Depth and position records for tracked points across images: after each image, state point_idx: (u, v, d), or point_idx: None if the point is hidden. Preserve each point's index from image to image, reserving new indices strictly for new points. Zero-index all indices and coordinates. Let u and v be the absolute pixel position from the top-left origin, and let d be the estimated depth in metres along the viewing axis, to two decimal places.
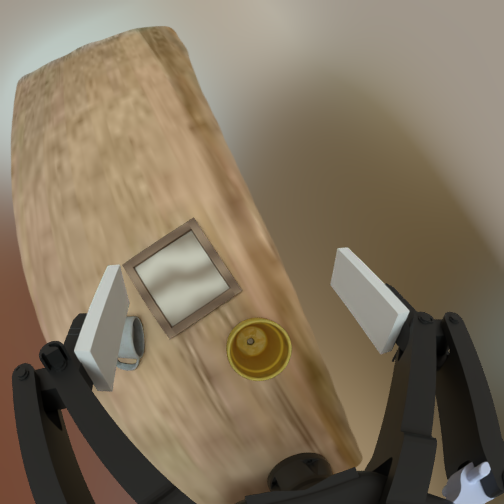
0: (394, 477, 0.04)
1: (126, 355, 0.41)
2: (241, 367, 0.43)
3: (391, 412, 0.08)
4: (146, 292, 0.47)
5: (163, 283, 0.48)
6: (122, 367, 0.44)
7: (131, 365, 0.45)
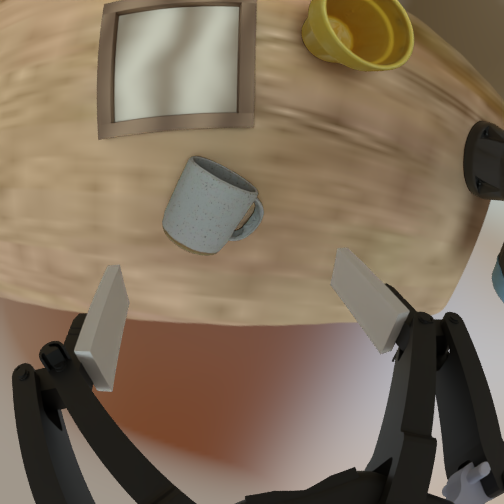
0: (394, 477, 0.04)
1: (243, 211, 0.26)
2: None
3: (391, 412, 0.08)
4: (160, 119, 0.23)
5: (164, 87, 0.23)
6: (250, 230, 0.32)
7: (254, 214, 0.32)
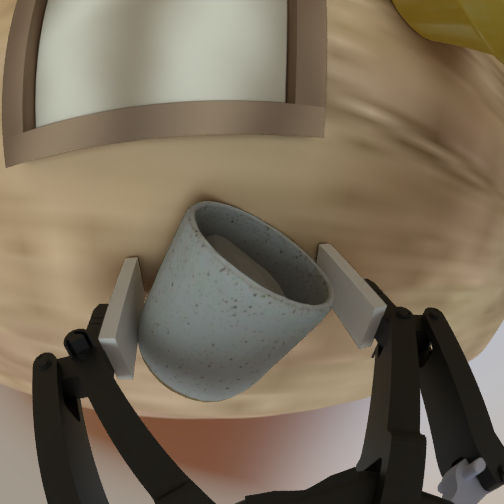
0: (386, 478, 0.04)
1: None
2: None
3: (375, 410, 0.08)
4: (117, 114, 0.10)
5: (130, 47, 0.09)
6: None
7: None
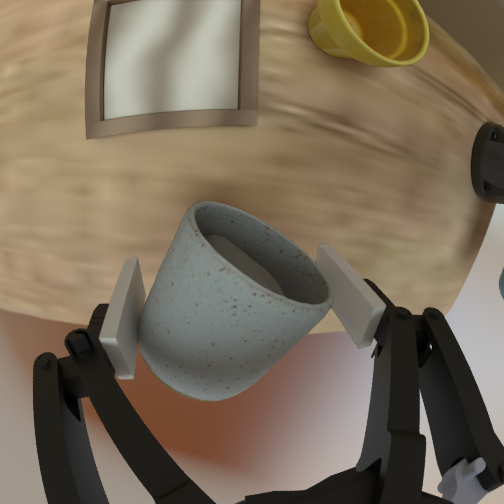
0: (386, 478, 0.04)
1: None
2: None
3: (375, 410, 0.08)
4: (154, 116, 0.21)
5: (158, 81, 0.20)
6: None
7: None
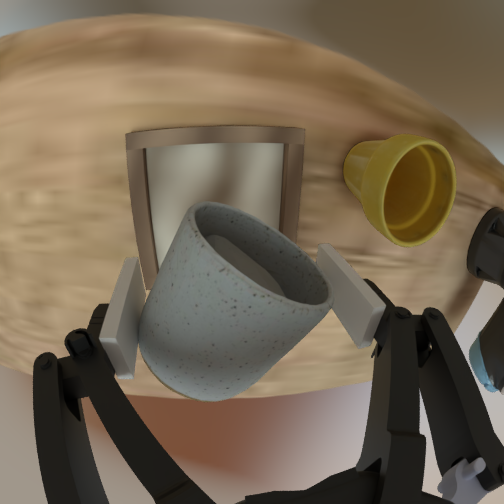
0: (385, 478, 0.04)
1: None
2: (406, 226, 0.25)
3: (375, 410, 0.08)
4: None
5: None
6: None
7: None
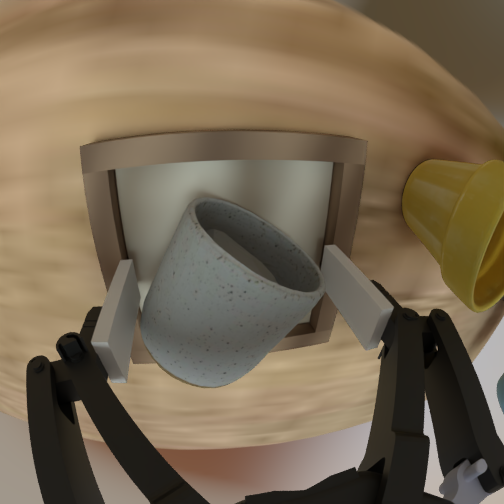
0: (388, 478, 0.04)
1: None
2: (476, 278, 0.16)
3: (380, 411, 0.08)
4: None
5: None
6: None
7: None
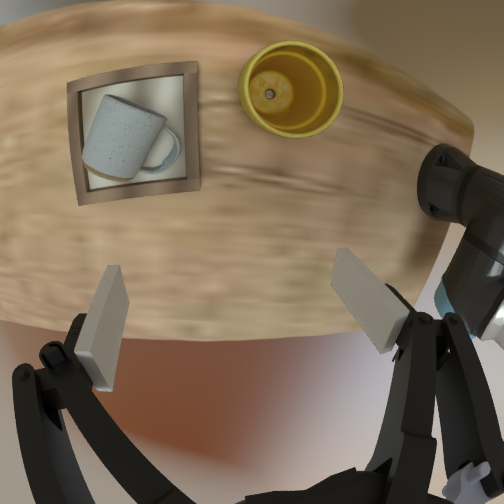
0: (394, 477, 0.04)
1: (146, 133, 0.23)
2: (298, 127, 0.27)
3: (391, 412, 0.08)
4: (125, 188, 0.30)
5: None
6: (168, 164, 0.30)
7: (173, 149, 0.30)
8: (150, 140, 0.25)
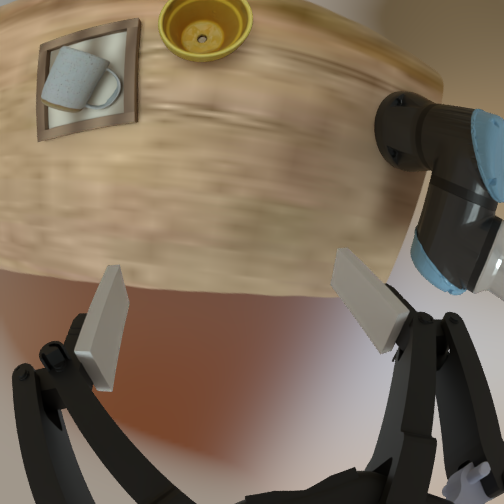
0: (394, 477, 0.04)
1: (87, 69, 0.22)
2: None
3: (391, 412, 0.08)
4: (73, 124, 0.29)
5: None
6: (110, 101, 0.29)
7: (116, 89, 0.28)
8: (91, 76, 0.23)
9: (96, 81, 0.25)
